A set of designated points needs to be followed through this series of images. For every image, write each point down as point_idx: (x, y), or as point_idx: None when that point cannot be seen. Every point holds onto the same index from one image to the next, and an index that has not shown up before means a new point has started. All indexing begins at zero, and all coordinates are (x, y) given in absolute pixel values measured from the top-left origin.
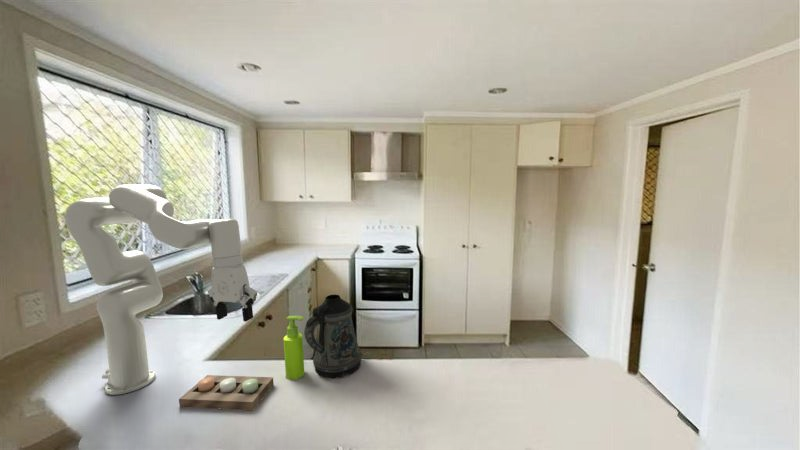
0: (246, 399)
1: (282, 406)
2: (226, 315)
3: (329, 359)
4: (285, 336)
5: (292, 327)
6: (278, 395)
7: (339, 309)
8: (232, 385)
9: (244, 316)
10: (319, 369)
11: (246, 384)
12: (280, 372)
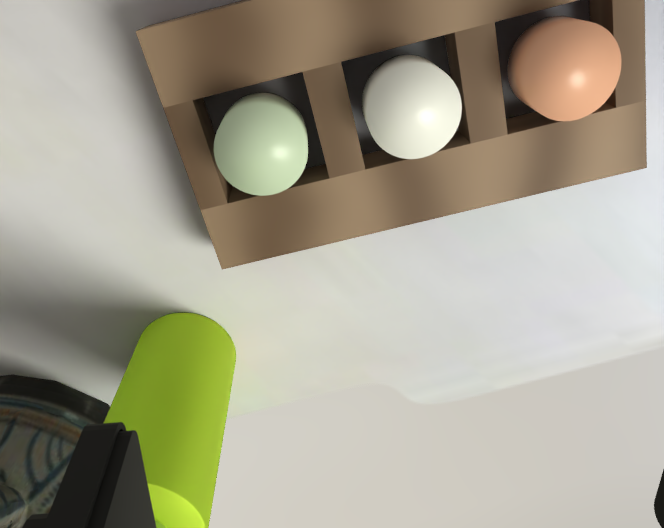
0: (192, 40)
1: (20, 110)
2: (661, 507)
3: None
4: (189, 522)
5: None
6: (123, 182)
7: None
8: (365, 102)
9: (58, 496)
10: (23, 399)
11: (267, 127)
12: (279, 345)
